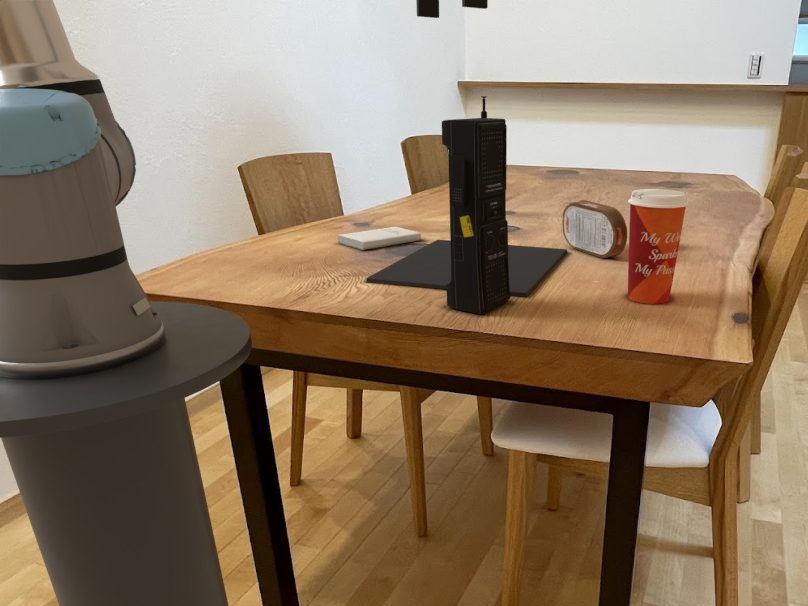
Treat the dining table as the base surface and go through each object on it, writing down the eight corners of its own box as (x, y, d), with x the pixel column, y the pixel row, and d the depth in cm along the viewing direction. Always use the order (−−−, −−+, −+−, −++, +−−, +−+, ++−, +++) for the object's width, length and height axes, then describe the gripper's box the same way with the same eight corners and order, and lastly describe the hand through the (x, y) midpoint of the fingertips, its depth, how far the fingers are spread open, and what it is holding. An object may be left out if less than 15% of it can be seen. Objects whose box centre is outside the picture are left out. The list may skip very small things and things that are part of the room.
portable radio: (480, 318, 81) (479, 97, 71) (440, 310, 84) (434, 96, 74) (512, 302, 87) (516, 97, 77) (474, 295, 90) (472, 96, 80)
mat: (366, 282, 96) (365, 278, 95) (437, 242, 120) (437, 239, 120) (526, 297, 90) (526, 292, 89) (567, 252, 114) (567, 249, 114)
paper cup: (639, 308, 86) (650, 198, 80) (609, 292, 92) (617, 189, 86) (689, 302, 88) (703, 195, 83) (657, 287, 95) (668, 187, 89)
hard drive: (338, 243, 119) (394, 234, 127) (363, 251, 113) (421, 240, 121) (337, 234, 118) (394, 225, 126) (363, 241, 113) (420, 231, 121)
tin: (626, 261, 109) (631, 209, 106) (612, 263, 108) (616, 210, 104) (572, 243, 121) (574, 196, 117) (558, 245, 119) (560, 197, 116)
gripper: (539, -261, 60) (530, 5, 69) (434, -177, 80) (438, 22, 89) (464, -284, 57) (465, -1, 66) (374, -190, 77) (384, 18, 85)
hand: (449, 13), depth 77 cm, fingers open, 13 cm apart
